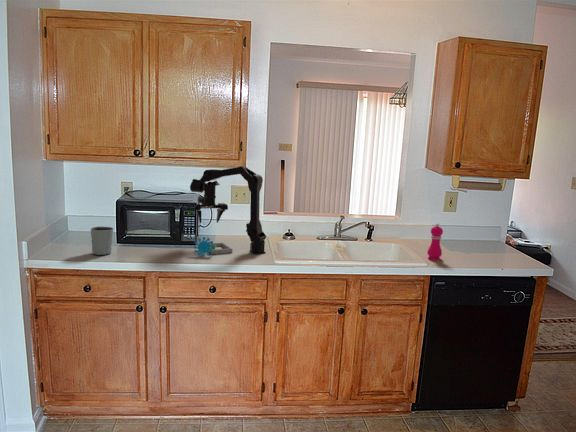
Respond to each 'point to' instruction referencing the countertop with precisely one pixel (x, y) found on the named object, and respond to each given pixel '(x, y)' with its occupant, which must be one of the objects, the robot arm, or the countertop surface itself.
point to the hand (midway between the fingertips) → (208, 222)
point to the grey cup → (101, 240)
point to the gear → (204, 246)
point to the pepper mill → (435, 243)
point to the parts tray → (221, 251)
